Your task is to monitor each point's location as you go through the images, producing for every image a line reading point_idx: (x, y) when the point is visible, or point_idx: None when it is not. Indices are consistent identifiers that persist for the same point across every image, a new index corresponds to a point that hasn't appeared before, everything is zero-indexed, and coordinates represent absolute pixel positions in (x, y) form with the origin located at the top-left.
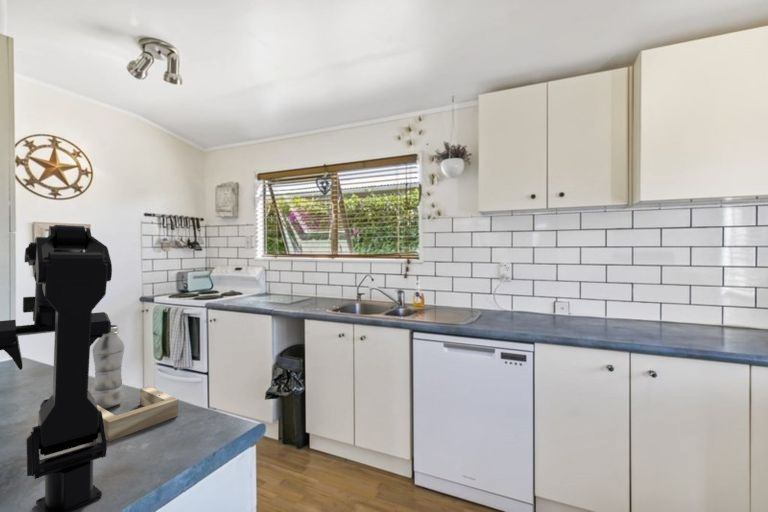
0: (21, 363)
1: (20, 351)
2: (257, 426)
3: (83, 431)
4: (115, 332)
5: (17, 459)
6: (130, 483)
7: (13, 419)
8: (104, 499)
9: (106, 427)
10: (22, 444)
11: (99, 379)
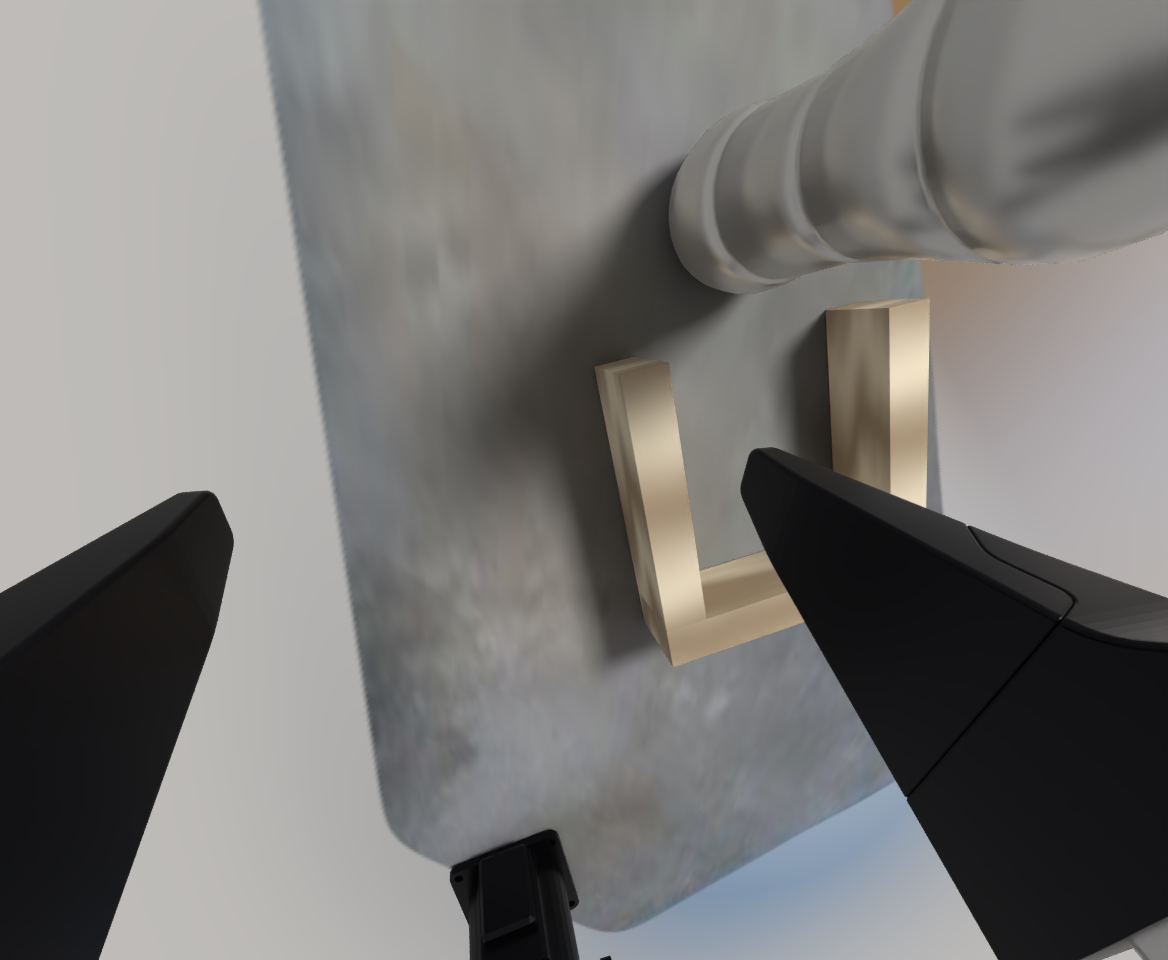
0: (197, 670)
1: (30, 665)
2: None
3: None
4: None
5: (380, 585)
6: (636, 869)
7: (294, 11)
8: (579, 903)
9: (657, 627)
10: (382, 452)
11: (776, 231)
